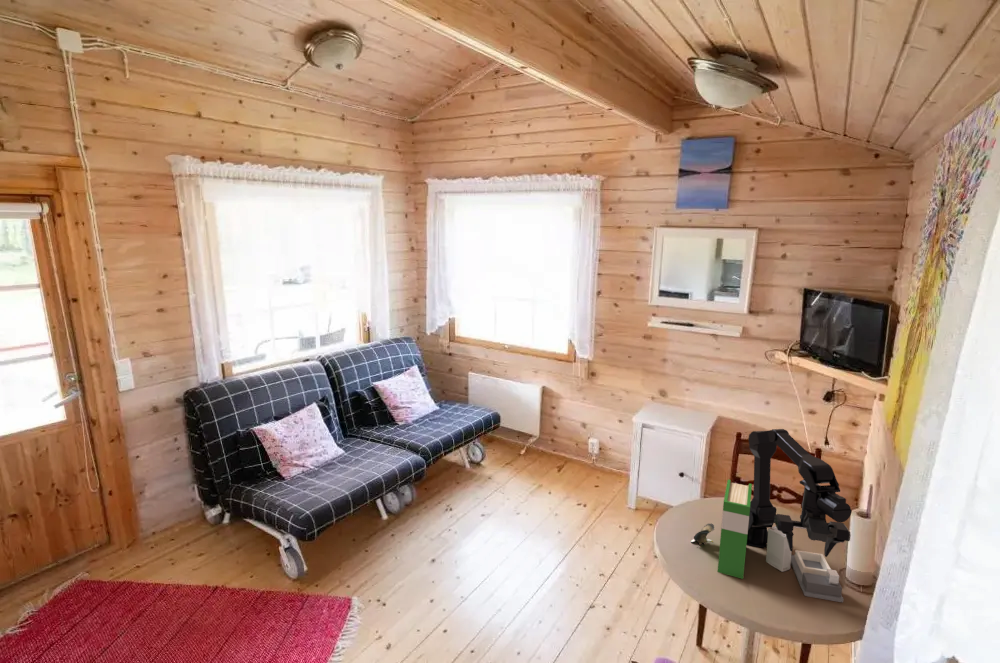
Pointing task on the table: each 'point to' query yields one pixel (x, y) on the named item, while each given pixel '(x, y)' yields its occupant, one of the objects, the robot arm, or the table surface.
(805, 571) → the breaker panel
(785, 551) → the skincare box
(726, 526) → the hardback book
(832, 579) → the breaker handle
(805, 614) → the table surface
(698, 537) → the eagle figurine
